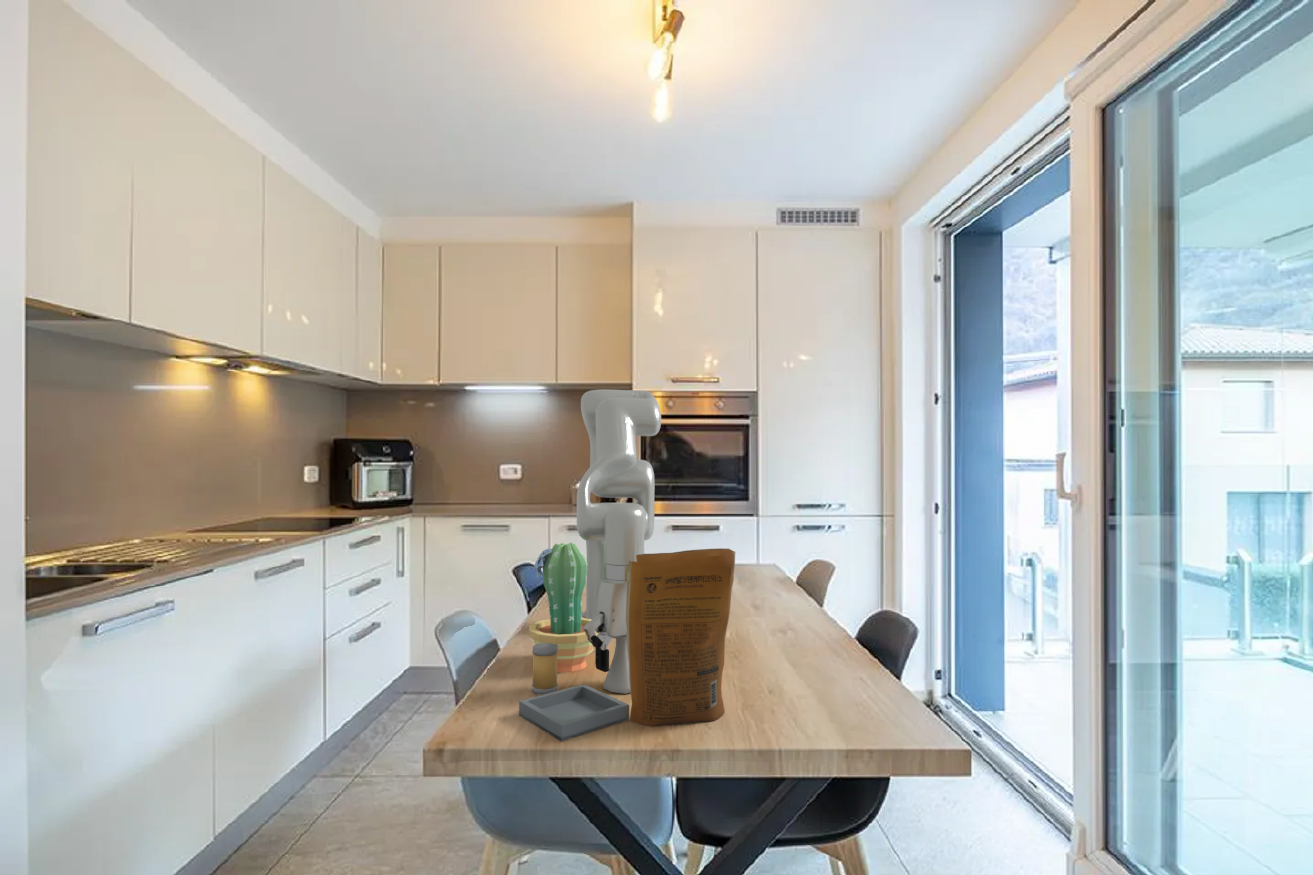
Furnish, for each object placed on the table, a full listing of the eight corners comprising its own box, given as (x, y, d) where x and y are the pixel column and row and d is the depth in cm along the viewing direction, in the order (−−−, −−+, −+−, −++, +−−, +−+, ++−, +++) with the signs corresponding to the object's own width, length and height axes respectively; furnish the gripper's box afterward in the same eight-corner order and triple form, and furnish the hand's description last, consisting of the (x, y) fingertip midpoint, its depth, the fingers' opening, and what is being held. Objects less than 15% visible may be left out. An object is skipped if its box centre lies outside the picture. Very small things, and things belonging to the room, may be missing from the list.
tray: (518, 715, 109) (519, 700, 109) (583, 697, 117) (583, 683, 117) (561, 741, 99) (561, 725, 99) (629, 719, 107) (629, 704, 107)
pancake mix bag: (742, 723, 106) (742, 550, 107) (626, 733, 102) (628, 553, 103) (728, 707, 113) (728, 544, 114) (618, 717, 108) (620, 547, 109)
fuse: (527, 689, 121) (527, 646, 121) (548, 684, 124) (549, 641, 124) (540, 696, 117) (540, 651, 118) (562, 691, 120) (562, 647, 121)
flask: (619, 678, 127) (620, 626, 128) (650, 686, 123) (650, 632, 123) (595, 689, 122) (596, 634, 122) (626, 697, 117) (626, 641, 118)
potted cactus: (563, 649, 146) (565, 537, 147) (618, 662, 137) (619, 542, 138) (511, 667, 133) (513, 544, 134) (567, 683, 125) (568, 551, 125)
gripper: (646, 565, 131) (646, 652, 131) (574, 574, 120) (573, 669, 119) (671, 570, 126) (671, 660, 125) (598, 580, 114) (597, 679, 114)
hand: (623, 664), depth 122 cm, fingers open, 9 cm apart
